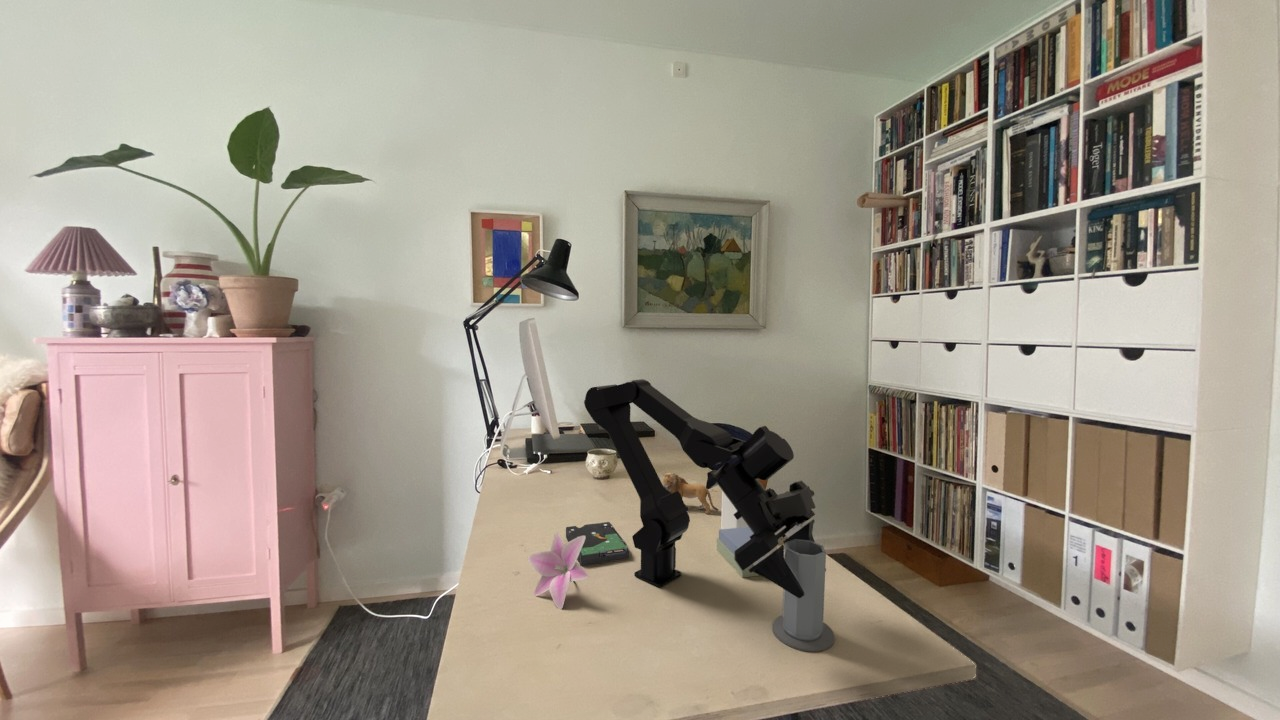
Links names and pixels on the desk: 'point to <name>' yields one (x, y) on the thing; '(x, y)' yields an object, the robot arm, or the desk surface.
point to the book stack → (734, 547)
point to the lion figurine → (688, 490)
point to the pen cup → (805, 590)
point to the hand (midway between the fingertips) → (813, 583)
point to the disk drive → (599, 543)
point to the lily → (558, 568)
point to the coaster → (813, 646)
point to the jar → (730, 515)
